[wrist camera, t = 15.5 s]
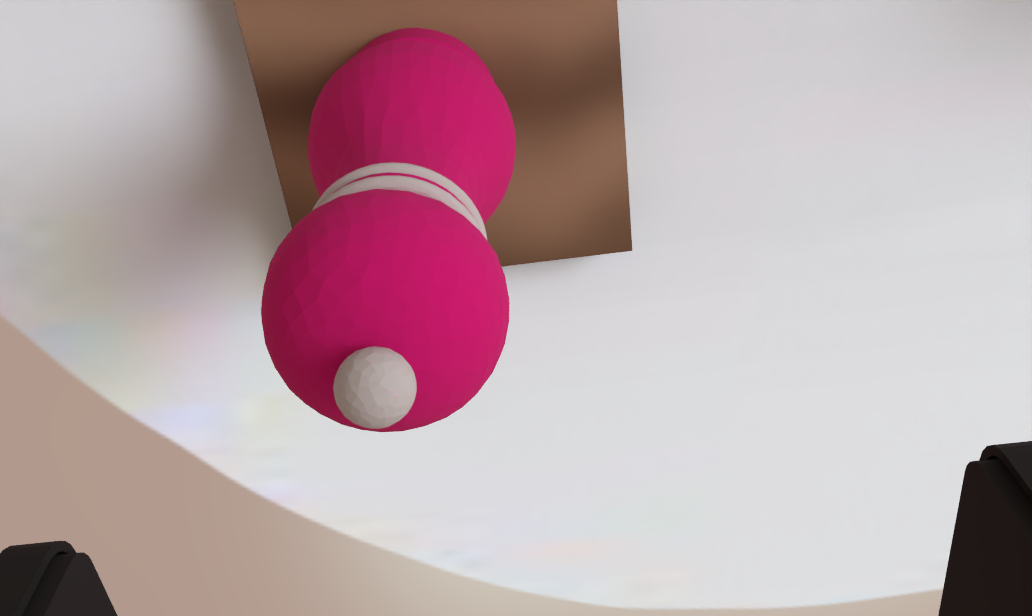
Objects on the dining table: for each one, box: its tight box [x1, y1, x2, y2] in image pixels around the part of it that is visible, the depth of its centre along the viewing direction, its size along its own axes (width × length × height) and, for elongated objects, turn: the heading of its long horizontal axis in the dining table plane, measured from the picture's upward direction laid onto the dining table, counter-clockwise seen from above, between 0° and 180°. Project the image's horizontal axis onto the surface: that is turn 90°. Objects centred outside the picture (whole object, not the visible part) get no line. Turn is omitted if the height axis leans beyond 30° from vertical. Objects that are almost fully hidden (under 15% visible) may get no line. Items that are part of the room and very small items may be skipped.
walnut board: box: [233, 0, 632, 266], centre depth 37 cm, size 16×14×2 cm
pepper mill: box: [261, 28, 516, 432], centre depth 28 cm, size 7×7×20 cm
